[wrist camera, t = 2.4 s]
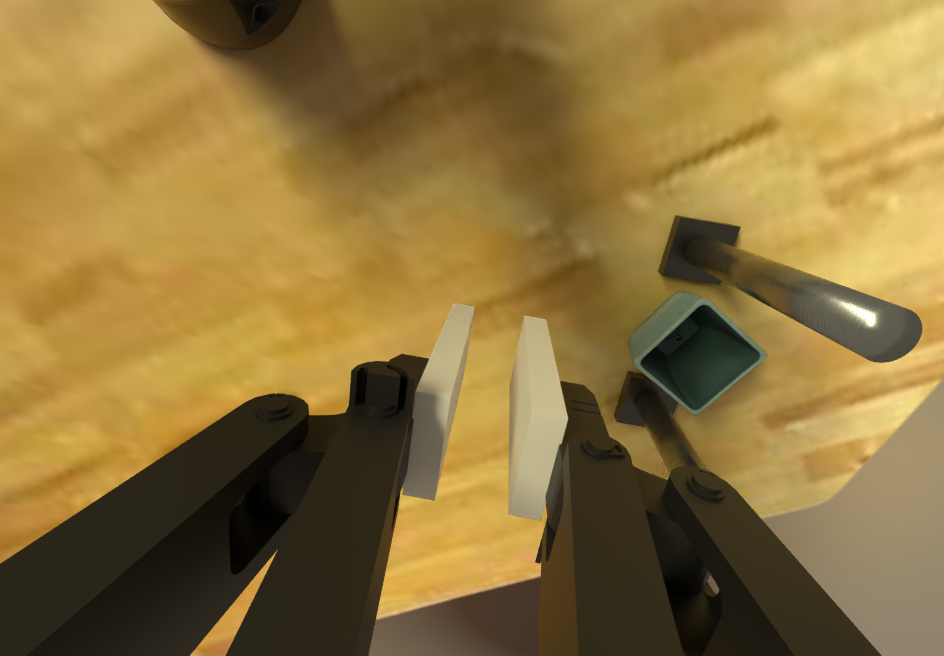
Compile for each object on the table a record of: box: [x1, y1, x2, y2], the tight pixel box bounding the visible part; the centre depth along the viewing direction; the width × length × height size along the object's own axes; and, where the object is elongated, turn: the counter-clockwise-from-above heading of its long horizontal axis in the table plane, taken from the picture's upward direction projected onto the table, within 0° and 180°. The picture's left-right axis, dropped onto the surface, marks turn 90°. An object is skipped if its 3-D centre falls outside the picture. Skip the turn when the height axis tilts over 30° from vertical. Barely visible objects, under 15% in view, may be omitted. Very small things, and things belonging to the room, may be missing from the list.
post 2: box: [658, 215, 922, 363], centre depth 35 cm, size 6×6×26 cm
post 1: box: [614, 371, 708, 473], centre depth 41 cm, size 6×6×26 cm
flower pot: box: [628, 291, 767, 415], centre depth 46 cm, size 9×9×9 cm
